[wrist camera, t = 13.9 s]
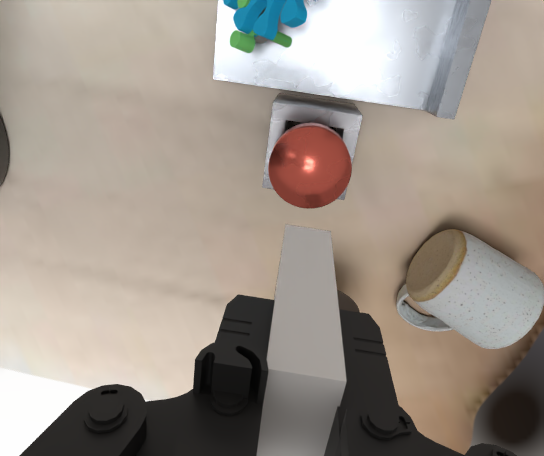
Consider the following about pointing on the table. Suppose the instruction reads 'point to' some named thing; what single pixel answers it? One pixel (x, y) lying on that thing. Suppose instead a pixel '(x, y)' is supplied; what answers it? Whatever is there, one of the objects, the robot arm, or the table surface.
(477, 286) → the ceramic mug
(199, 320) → the table surface
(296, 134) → the plunger
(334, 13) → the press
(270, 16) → the blue lobed star wheel
